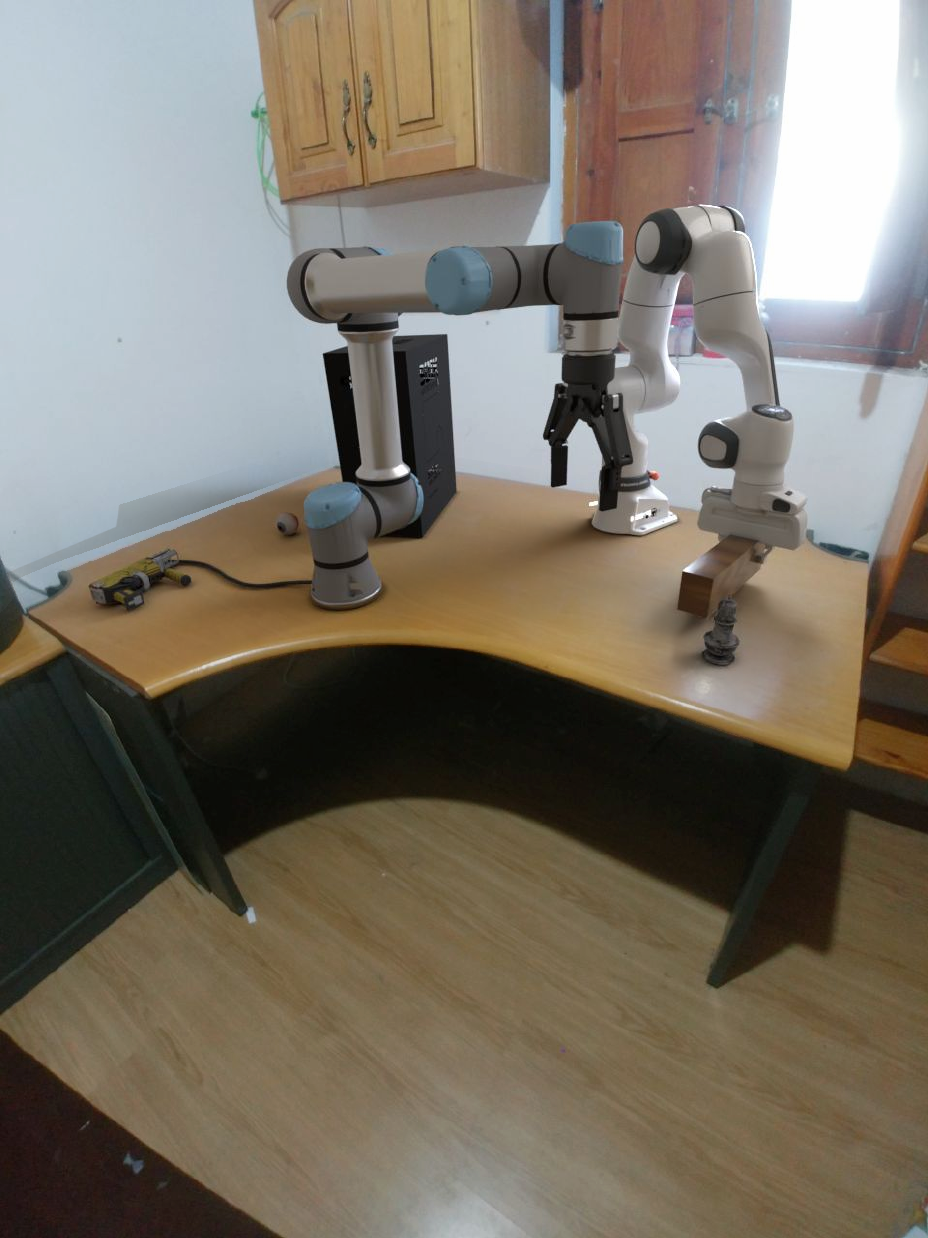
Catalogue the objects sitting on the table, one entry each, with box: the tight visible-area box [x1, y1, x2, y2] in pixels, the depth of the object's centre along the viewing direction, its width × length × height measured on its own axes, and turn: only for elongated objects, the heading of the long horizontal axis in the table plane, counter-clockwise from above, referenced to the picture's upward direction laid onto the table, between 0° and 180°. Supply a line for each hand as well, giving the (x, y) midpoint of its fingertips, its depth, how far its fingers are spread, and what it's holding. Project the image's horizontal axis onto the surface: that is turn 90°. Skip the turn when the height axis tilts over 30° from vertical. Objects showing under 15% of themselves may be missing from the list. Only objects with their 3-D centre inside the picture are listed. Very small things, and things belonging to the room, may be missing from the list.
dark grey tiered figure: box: [701, 595, 741, 666], centre depth 101 cm, size 6×6×12 cm
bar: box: [676, 535, 766, 620], centre depth 118 cm, size 26×6×8 cm, turn 137°
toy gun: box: [88, 547, 192, 612], centre depth 139 cm, size 5×24×15 cm
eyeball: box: [275, 511, 300, 536], centre depth 163 cm, size 6×6×6 cm
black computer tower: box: [322, 333, 458, 538], centre depth 165 cm, size 38×20×45 cm, turn 167°
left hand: (581, 497), depth 96 cm, fingers open, 13 cm apart
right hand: (743, 558), depth 124 cm, fingers closed on bar, 6 cm apart
